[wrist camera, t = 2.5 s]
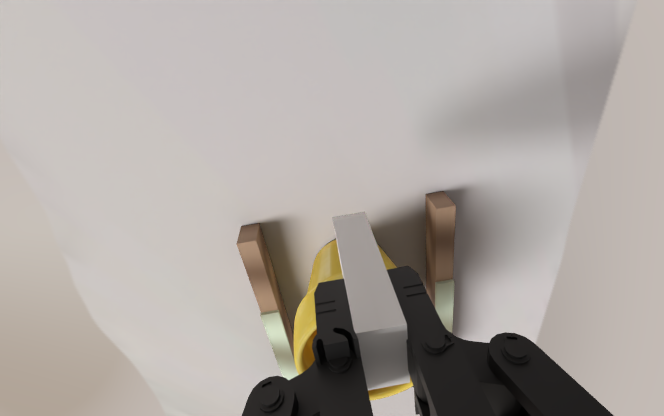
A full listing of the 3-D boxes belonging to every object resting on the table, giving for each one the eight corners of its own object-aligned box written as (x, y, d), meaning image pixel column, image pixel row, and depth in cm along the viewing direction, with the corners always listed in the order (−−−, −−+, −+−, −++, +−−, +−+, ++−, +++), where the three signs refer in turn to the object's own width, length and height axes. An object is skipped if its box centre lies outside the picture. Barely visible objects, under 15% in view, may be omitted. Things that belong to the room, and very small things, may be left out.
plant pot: (428, 261, 31) (476, 351, 23) (347, 320, 34) (363, 420, 26) (355, 193, 27) (382, 272, 19) (270, 267, 30) (259, 364, 22)
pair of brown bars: (240, 226, 28) (235, 246, 25) (444, 191, 28) (458, 207, 25) (289, 368, 37) (288, 392, 35) (440, 341, 37) (450, 364, 35)
